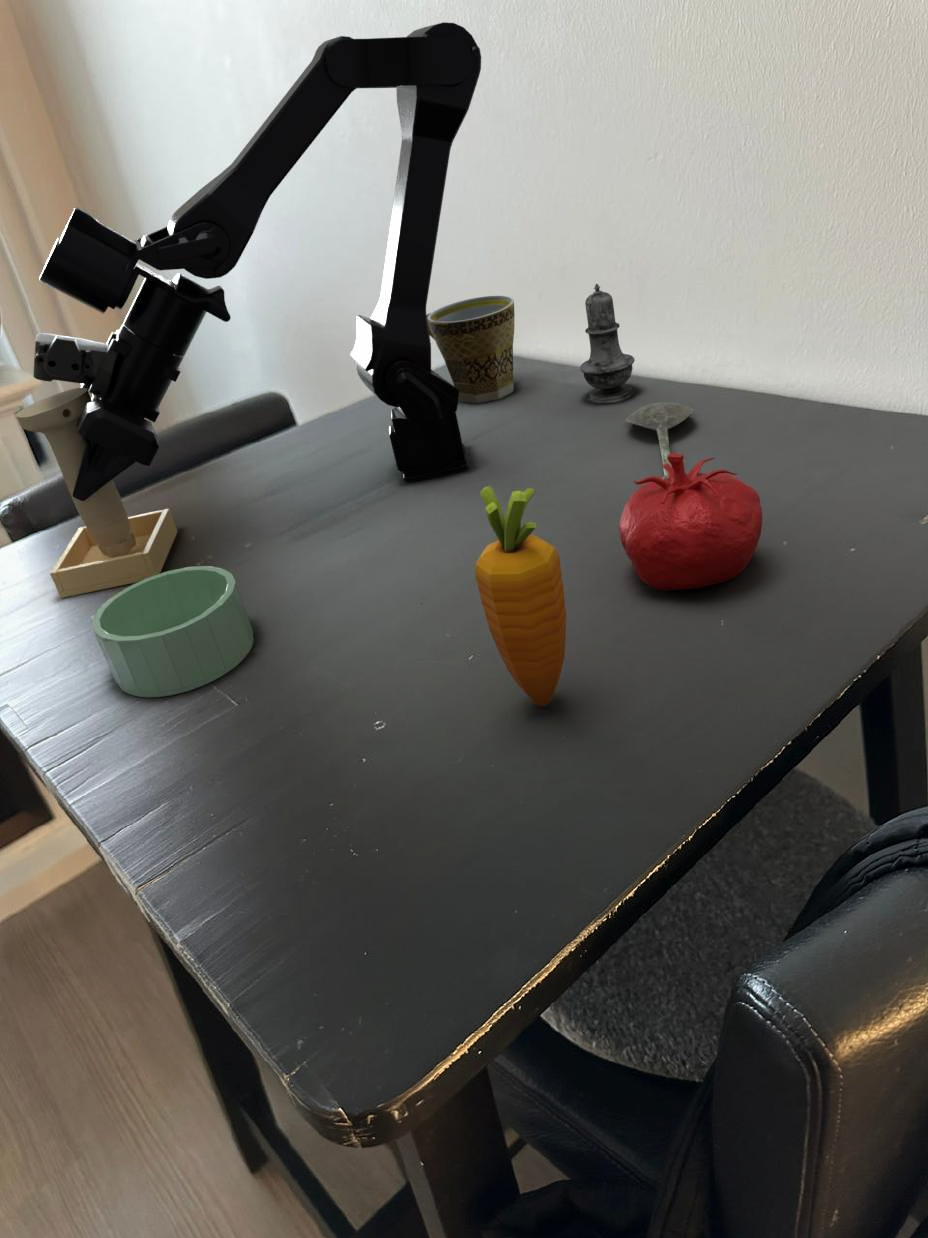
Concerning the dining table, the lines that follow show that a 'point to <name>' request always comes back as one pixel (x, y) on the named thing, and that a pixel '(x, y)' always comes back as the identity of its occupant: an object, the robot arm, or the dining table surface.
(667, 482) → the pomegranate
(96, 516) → the handle
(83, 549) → the tray
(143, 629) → the green bowl
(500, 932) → the dining table surface
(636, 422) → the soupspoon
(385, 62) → the robot arm
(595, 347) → the salt shaker
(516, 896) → the dining table surface
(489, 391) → the ceramic cup
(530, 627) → the carrot
